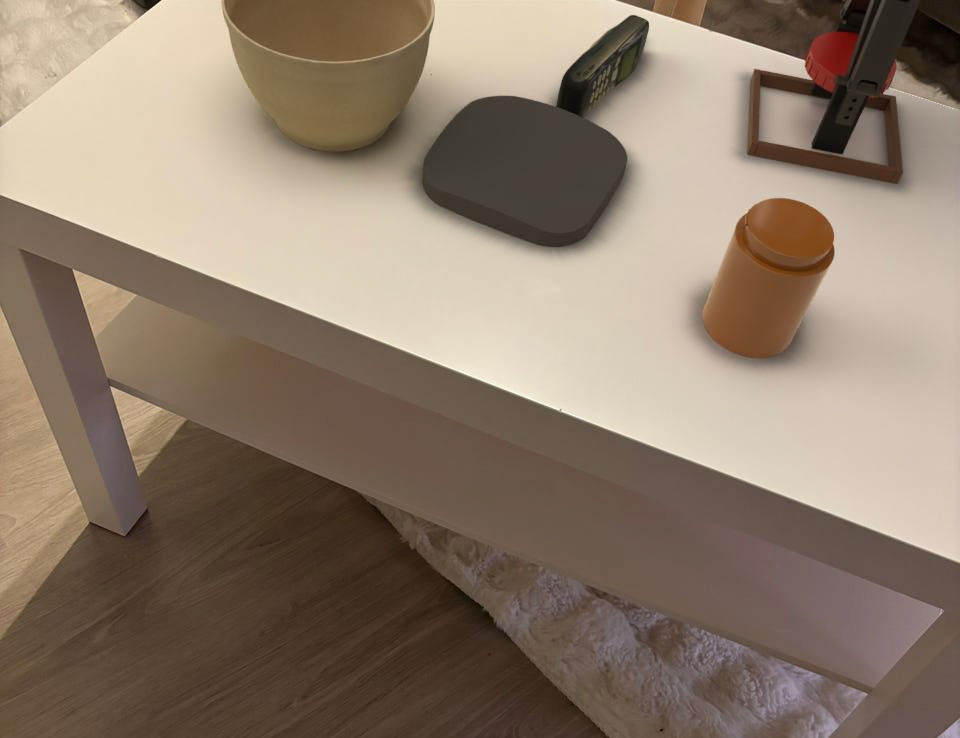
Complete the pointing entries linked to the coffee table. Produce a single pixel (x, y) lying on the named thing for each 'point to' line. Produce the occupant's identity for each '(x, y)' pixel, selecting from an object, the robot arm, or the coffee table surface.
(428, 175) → the media streaming box
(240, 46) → the planter bowl
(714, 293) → the jar
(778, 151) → the picture frame
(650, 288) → the coffee table surface
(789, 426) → the coffee table surface
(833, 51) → the lid
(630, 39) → the mobile phone
